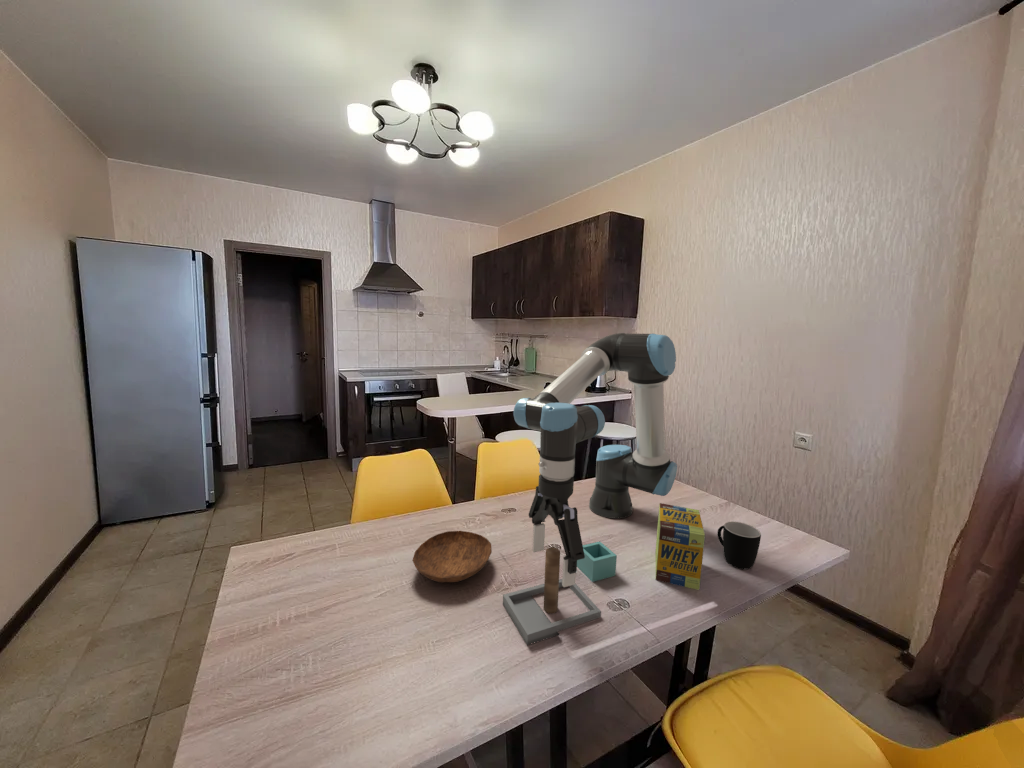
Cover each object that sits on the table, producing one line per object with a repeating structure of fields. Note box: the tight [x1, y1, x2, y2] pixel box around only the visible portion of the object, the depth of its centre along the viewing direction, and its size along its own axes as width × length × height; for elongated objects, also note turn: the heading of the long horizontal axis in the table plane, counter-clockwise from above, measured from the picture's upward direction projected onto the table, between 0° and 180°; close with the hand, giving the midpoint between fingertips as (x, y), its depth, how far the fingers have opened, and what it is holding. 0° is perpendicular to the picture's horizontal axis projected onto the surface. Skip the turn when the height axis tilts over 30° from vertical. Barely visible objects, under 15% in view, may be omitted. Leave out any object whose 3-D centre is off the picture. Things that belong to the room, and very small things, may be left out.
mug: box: [716, 520, 762, 570], centre depth 111 cm, size 12×9×10 cm
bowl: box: [412, 530, 493, 583], centre depth 104 cm, size 20×22×5 cm
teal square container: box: [577, 540, 618, 583], centre depth 103 cm, size 7×7×7 cm
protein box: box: [654, 502, 706, 591], centre depth 105 cm, size 10×15×16 cm
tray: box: [502, 578, 602, 646], centre depth 89 cm, size 13×18×2 cm
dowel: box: [543, 547, 561, 615], centre depth 88 cm, size 3×3×14 cm
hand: (552, 566), depth 88 cm, fingers open, 13 cm apart
